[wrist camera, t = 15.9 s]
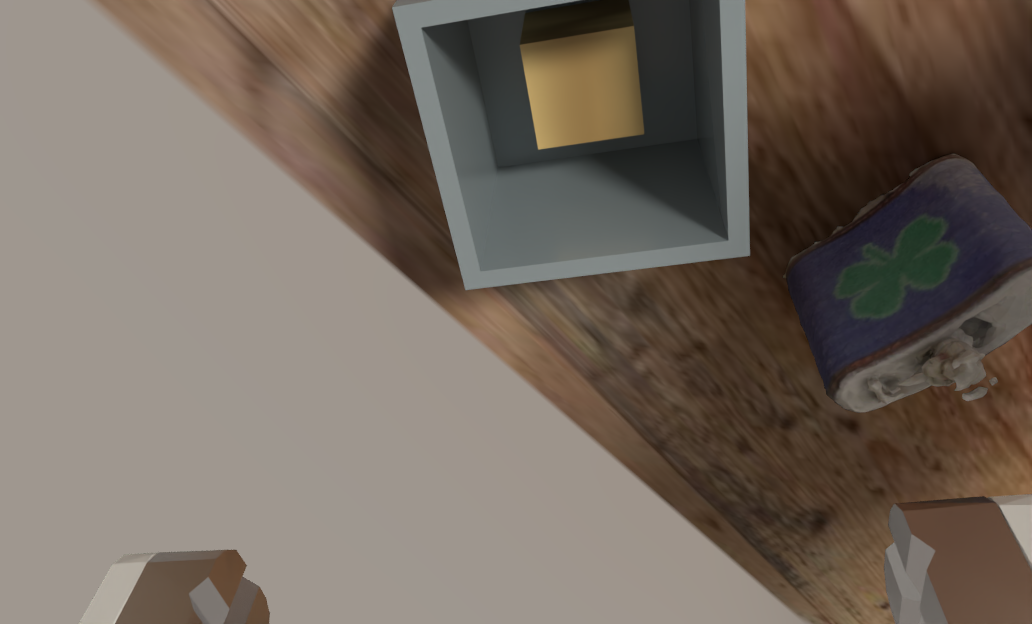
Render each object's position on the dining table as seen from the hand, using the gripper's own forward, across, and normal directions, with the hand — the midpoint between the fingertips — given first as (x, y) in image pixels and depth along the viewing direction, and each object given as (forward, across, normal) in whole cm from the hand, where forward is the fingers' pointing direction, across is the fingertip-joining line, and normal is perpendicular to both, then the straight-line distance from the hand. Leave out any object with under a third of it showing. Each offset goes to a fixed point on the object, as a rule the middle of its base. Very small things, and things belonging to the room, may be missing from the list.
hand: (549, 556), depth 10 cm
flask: (+27, -12, +13) cm, 32 cm away
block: (+26, 0, +2) cm, 26 cm away
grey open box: (+27, 0, +2) cm, 27 cm away
